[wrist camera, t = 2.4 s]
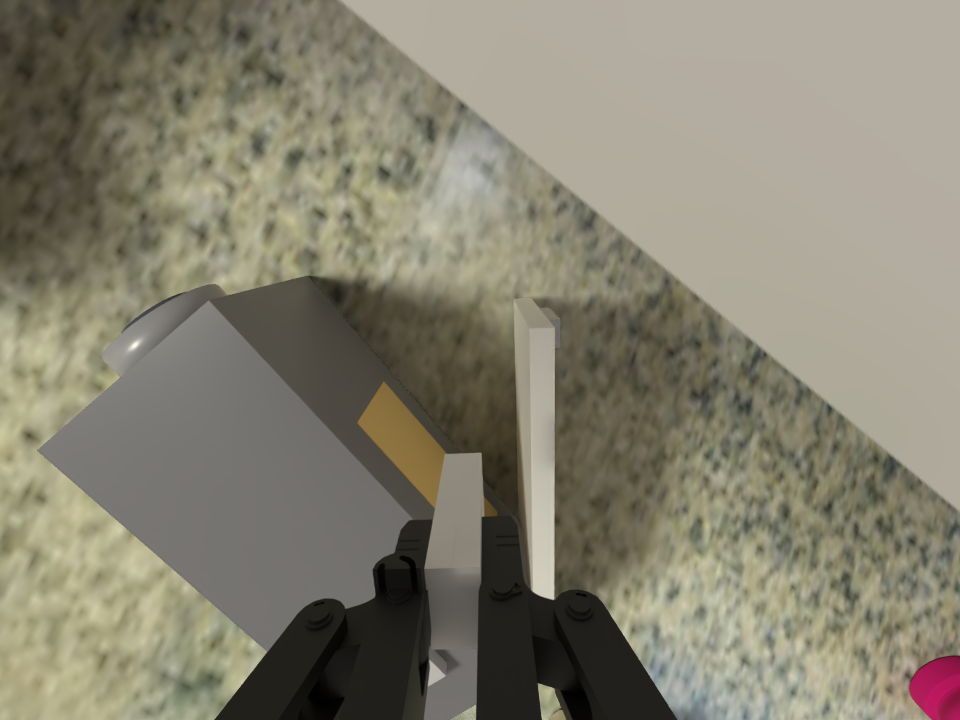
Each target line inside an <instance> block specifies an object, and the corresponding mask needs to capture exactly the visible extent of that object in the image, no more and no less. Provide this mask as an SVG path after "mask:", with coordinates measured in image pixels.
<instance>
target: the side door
mask: <svg viewBox="0 0 960 720" xmlns="http://www.w3.org/2000/svg"><path fill="white" fill-rule="evenodd" d="M514 336H515V380H516V423H517V467H518V511H519V520H520V527H521V534H522V541H523V548H524V555H525V562H526V569H527V576H528V583H529V589H530V590H531V591H533V592H534V593H536V594H537V595H539V596H542V597H545V598H548V599H552V600H554V486H555V348H560V339H561V319H560V318H559V317H558V316H557V315H556V314H555V313H554V312H553V311H552V310H551V309H550V308H549V307H548V308H539V307H538V306H537V305H536V304H535V302H534V301H533V300H532V299H531V298H522V299H514Z"/></svg>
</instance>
